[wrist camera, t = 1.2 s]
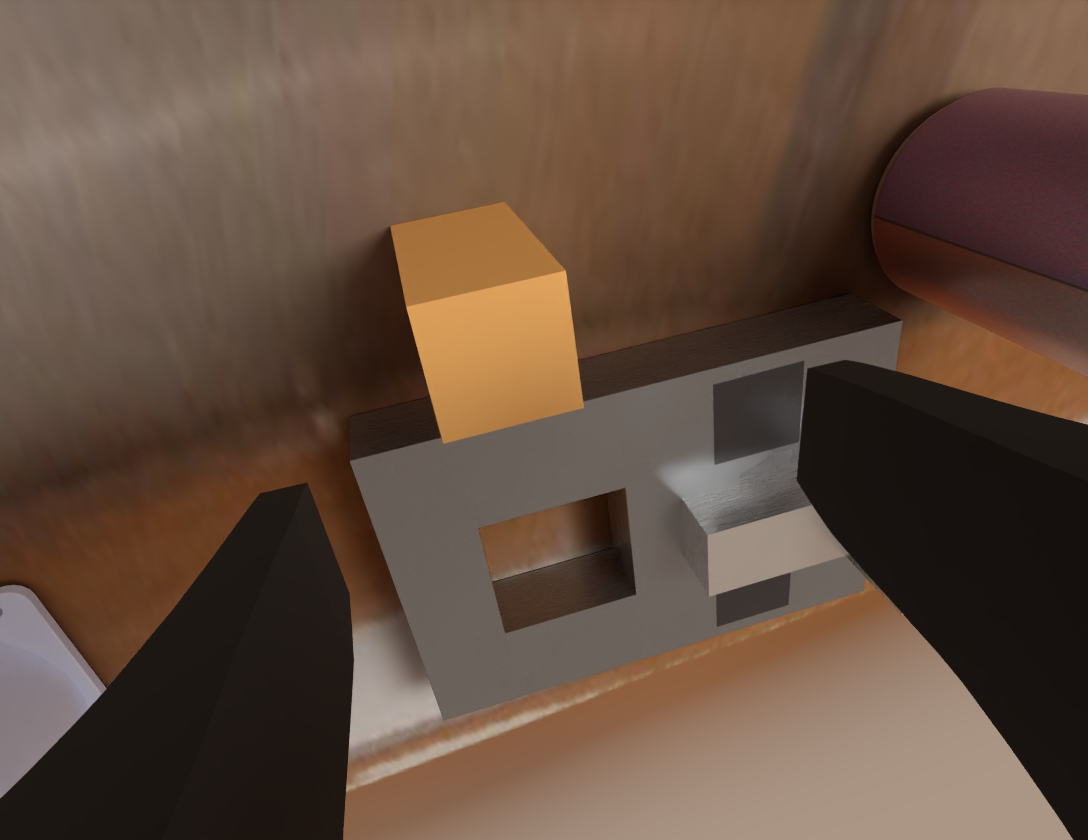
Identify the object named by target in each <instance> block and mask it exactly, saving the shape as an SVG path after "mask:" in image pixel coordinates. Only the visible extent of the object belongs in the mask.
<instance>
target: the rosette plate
mask: <svg viewBox="0 0 1088 840" xmlns="http://www.w3.org/2000/svg"><path fill="white" fill-rule="evenodd" d="M902 322H903V320H901V319H899V318H897V317H895V316H893V315H891V314H889V313H888V312H886V311H884V310H882V309H880V308H878V307H876V306H874V305H872V304H870V303H869V302H867V301H865V300H863V299H861V298H859V297H857V296H855V295H853V294H847V295H843V296H839V297H834V298H830V299H826V300H822V301H818V302H814V303H810V304H806V305H802V306H798V307H794V308H790V309H786V310H782V311H777V312H773V313H769V314H765V315H761V316H757V317H753V318H749V319H745V320H741V321H737V322H733V323H729V324H724V325H720V326H716V327H712V328H708V329H704V330H700V331H696V332H692V333H688V334H684V335H680V336H676V337H671V338H667V339H663V340H659V341H655V342H651V343H647V344H643V345H639V346H635V347H631V348H627V349H623V350H619V351H614V352H610V353H606V354H602V355H598V356H594V357H590V358H586V359H582V360H578V367H579V374H580V382H581V389H582V397H583V405H584V408H582V409H578V410H574V411H570V412H566V413H562V414H558V415H554V416H550V417H546V418H542V419H538V420H535V421H531V422H527V423H523V424H519V425H515V426H511V427H507V428H503V429H499V430H495V431H492V432H488V433H484V434H480V435H476V436H472V437H468V438H464V439H460V440H456V441H452V442H448V443H445V444H443V441H442V438H441V434H440V430H439V427H438V423H437V419H436V415H435V412H434V408H433V404H432V401H431V397H427V398H423V399H419V400H415V401H411V402H407V403H403V404H399V405H394V406H390V407H386V408H382V409H378V410H374V411H370V412H366V413H362V414H358V415H354V416H350V464H351V466H352V469H353V472H354V475H355V477H356V480H357V483H358V486H359V488H360V491H361V494H362V497H363V499H364V502H365V505H366V508H367V510H368V513H369V516H370V519H371V521H372V524H373V527H374V530H375V532H376V535H377V538H378V541H379V543H380V546H381V549H382V552H383V555H384V557H385V560H386V563H387V566H388V568H389V571H390V574H391V577H392V579H393V582H394V585H395V588H396V590H397V593H398V596H399V599H400V601H401V604H402V607H403V610H404V612H405V615H406V618H407V621H408V623H409V626H410V629H411V632H412V634H413V637H414V640H415V643H416V645H417V648H418V651H419V654H420V656H421V659H422V662H423V665H424V667H425V670H426V673H427V676H428V678H429V681H430V684H431V687H432V689H433V692H434V695H435V698H436V700H437V703H438V706H439V709H440V711H441V714H442V717H443V720H447V719H451V718H454V717H457V716H460V715H464V714H467V713H470V712H473V711H477V710H480V709H483V708H486V707H489V706H493V705H496V704H499V703H502V702H506V701H509V700H512V699H515V698H518V697H522V696H525V695H528V694H531V693H535V692H538V691H541V690H544V689H547V688H551V687H554V686H557V685H560V684H564V683H567V682H570V681H573V680H577V679H580V678H583V677H586V676H589V675H593V674H596V673H599V672H602V671H606V670H609V669H612V668H615V667H618V666H622V665H625V664H628V663H631V662H635V661H638V660H641V659H644V658H647V657H651V656H654V655H657V654H660V653H664V652H667V651H670V650H673V649H677V648H680V647H683V646H686V645H689V644H693V643H696V642H699V641H702V640H706V639H709V638H712V637H715V636H718V635H722V634H725V633H728V632H731V631H735V630H738V629H741V628H744V627H748V626H751V625H754V624H757V623H760V622H764V621H767V620H770V619H773V618H777V617H780V616H783V615H786V614H789V613H793V612H796V611H799V610H802V609H806V608H809V607H812V606H815V605H818V604H822V603H825V602H828V601H831V600H835V599H838V598H841V597H844V596H848V595H851V594H854V593H857V592H860V591H864V584H865V576H864V575H863V574H862V573H861V572H860V571H859V570H858V569H857V568H856V567H855V566H854V565H853V564H852V562H851V561H850V560H849V559H848V558H847V557H846V556H843V557H839V558H836V559H833V560H829V561H826V562H823V563H819V564H816V565H813V566H810V567H806V568H803V569H800V570H796V571H793V572H790V573H786V574H783V575H780V576H776V577H773V578H770V579H766V580H763V581H760V582H756V583H753V584H750V585H746V586H743V587H740V588H737V589H733V590H730V591H727V592H723V593H720V594H717V595H713V596H710V597H709V596H708V594H707V593H706V591H705V590H704V588H703V586H702V585H701V583H700V582H699V580H698V578H697V577H696V575H695V574H694V572H693V571H692V569H691V567H690V566H689V564H688V563H687V561H686V559H685V555H684V534H683V513H682V498H686V497H689V496H693V495H696V494H700V493H703V492H707V491H711V490H714V489H718V488H721V487H725V486H728V485H732V484H736V483H739V482H743V481H746V480H750V479H754V478H757V477H761V476H764V475H768V474H771V473H775V472H779V471H782V470H786V469H789V468H793V467H797V466H798V459H799V449H800V438H801V428H802V418H803V407H804V397H805V387H806V376H807V368H811V367H815V366H820V365H824V364H829V363H833V362H837V361H842V360H850V361H856V362H861V363H865V364H870V365H874V366H878V367H882V368H886V369H890V370H893V371H896V364H897V357H898V350H899V343H900V336H901V329H902ZM604 493H606V495H607V503H608V511H609V520H610V528H611V536H612V544H613V548H611V549H608V550H604V551H601V552H597V553H594V554H590V555H587V556H583V557H580V558H576V559H573V560H569V561H566V562H562V563H559V564H555V565H552V566H548V567H545V568H541V569H538V570H534V571H531V572H527V573H524V574H520V575H517V576H513V577H510V578H506V579H503V580H499V581H496V582H492V580H491V576H490V572H489V569H488V565H487V561H486V557H485V553H484V549H483V545H482V541H481V537H480V533H479V530H478V528H480V527H484V526H487V525H491V524H495V523H498V522H502V521H506V520H509V519H513V518H516V517H520V516H524V515H527V514H531V513H535V512H538V511H542V510H546V509H549V508H553V507H557V506H560V505H564V504H568V503H571V502H575V501H579V500H582V499H586V498H590V497H593V496H597V495H600V494H604Z"/></svg>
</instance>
